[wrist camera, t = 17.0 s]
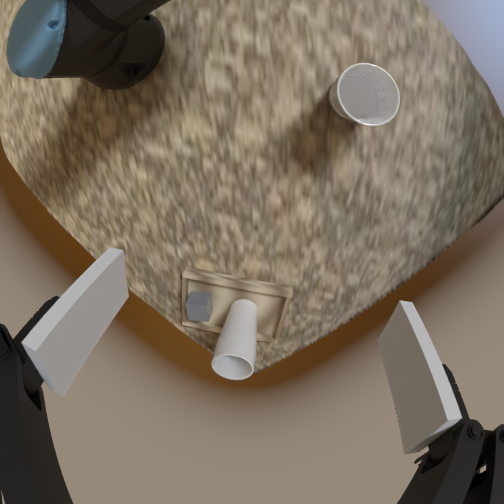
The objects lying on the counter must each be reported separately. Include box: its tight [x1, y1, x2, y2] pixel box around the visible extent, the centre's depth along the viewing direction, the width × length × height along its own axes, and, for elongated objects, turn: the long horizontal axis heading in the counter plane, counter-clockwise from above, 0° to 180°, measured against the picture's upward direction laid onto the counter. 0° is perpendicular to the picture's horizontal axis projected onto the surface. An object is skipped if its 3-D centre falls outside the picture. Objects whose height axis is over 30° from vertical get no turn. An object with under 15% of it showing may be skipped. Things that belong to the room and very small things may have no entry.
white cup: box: [329, 63, 400, 126], centre depth 30 cm, size 8×8×10 cm
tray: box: [182, 267, 292, 343], centre depth 53 cm, size 20×13×2 cm, turn 81°
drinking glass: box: [211, 299, 258, 380], centre depth 47 cm, size 7×7×15 cm
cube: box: [185, 291, 213, 322], centre depth 52 cm, size 4×4×4 cm
